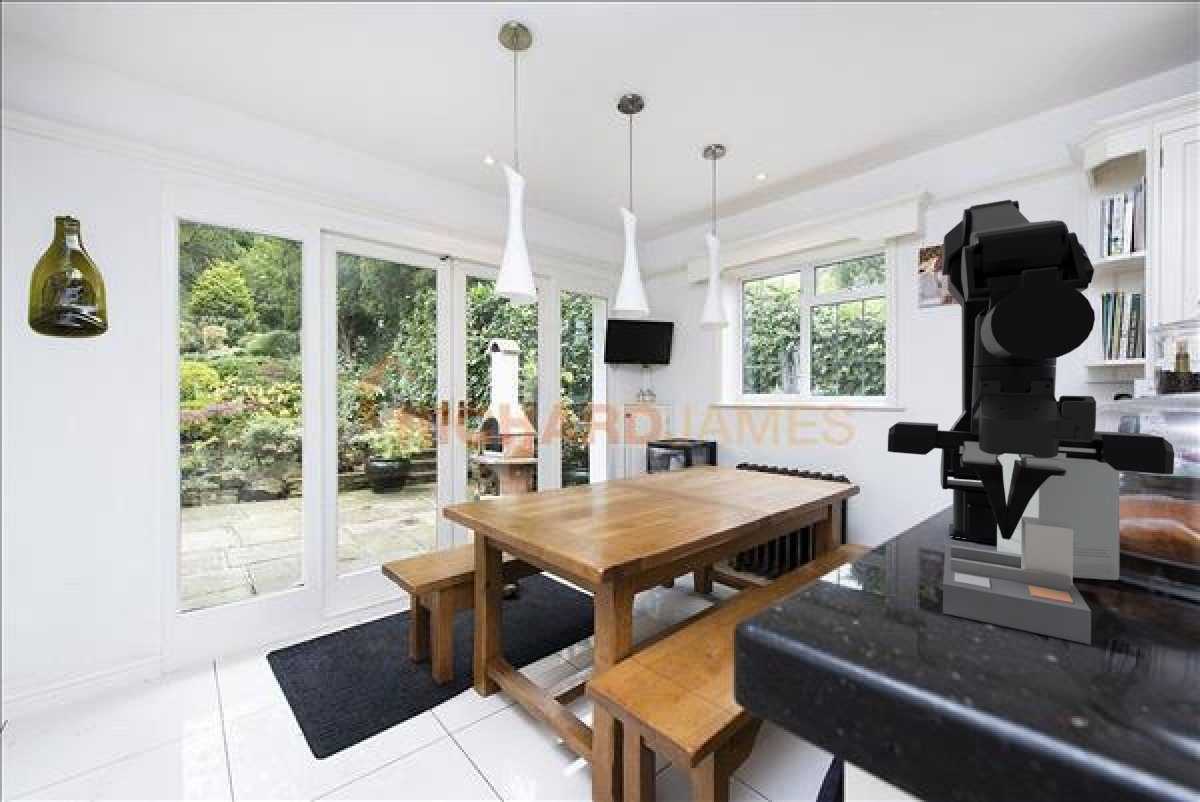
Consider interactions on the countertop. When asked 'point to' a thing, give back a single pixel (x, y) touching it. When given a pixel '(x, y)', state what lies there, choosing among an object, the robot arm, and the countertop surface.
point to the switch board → (1012, 594)
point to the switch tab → (1047, 546)
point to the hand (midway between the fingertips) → (1005, 538)
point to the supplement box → (1076, 513)
